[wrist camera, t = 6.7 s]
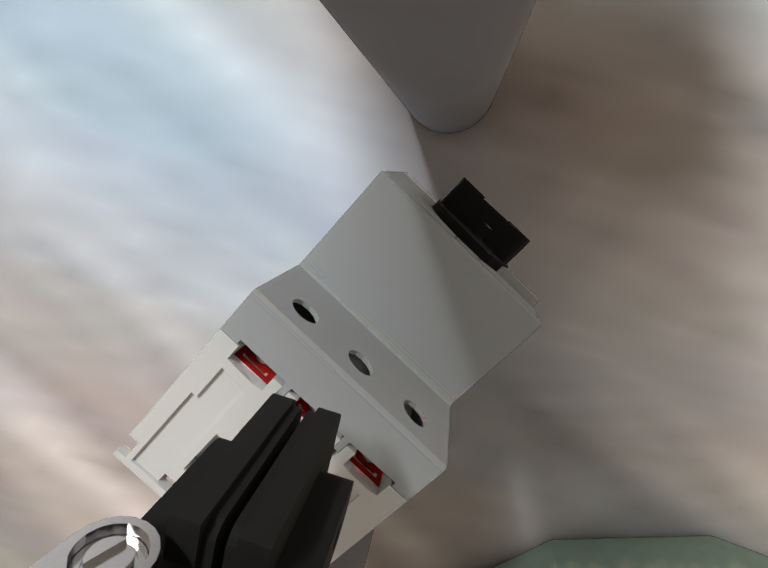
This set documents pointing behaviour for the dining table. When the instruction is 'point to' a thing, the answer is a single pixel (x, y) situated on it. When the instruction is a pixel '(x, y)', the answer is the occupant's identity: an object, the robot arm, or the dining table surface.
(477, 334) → the circuit breaker
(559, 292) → the dining table surface
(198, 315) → the dining table surface
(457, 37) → the post
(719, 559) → the tea set
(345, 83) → the dining table surface
